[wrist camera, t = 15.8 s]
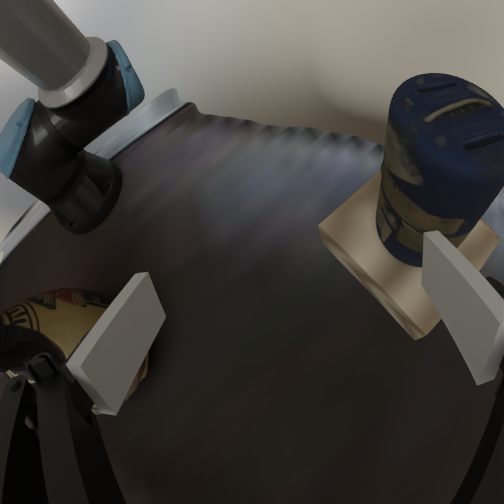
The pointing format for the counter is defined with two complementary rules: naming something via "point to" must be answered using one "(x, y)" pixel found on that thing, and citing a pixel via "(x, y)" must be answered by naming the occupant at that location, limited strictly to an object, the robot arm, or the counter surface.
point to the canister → (438, 163)
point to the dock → (390, 259)
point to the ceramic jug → (52, 330)
